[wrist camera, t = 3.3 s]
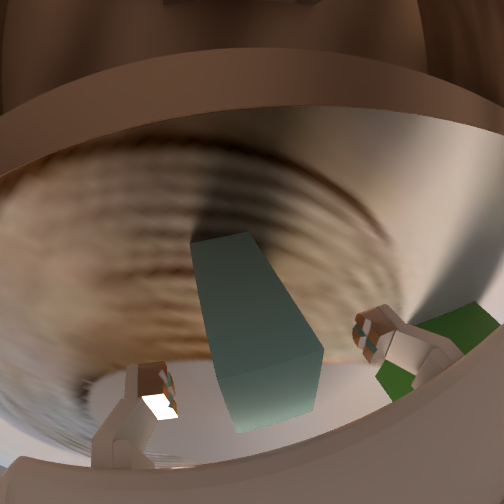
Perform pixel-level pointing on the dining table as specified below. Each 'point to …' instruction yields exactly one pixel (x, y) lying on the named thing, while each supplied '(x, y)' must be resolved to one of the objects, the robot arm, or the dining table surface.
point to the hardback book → (450, 326)
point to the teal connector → (255, 334)
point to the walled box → (238, 63)
